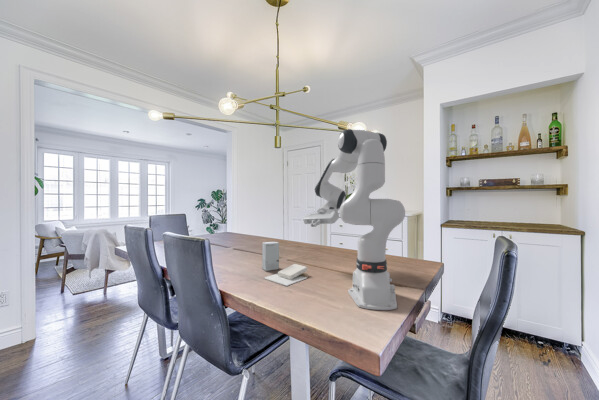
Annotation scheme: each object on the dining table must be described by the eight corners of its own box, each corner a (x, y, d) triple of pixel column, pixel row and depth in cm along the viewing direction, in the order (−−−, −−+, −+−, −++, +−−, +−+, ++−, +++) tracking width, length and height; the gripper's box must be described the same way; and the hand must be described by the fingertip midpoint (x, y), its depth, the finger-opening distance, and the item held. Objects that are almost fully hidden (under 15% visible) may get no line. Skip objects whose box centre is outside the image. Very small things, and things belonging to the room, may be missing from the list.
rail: (287, 271, 133) (287, 268, 133) (307, 277, 124) (307, 274, 124) (285, 272, 132) (285, 269, 132) (305, 277, 123) (305, 274, 123)
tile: (294, 263, 133) (277, 272, 125) (306, 266, 127) (290, 275, 119) (294, 267, 134) (278, 275, 125) (307, 270, 127) (290, 280, 119)
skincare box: (265, 271, 134) (265, 243, 134) (261, 268, 140) (261, 242, 139) (279, 269, 138) (279, 242, 138) (275, 266, 143) (275, 240, 143)
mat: (284, 272, 133) (284, 271, 133) (306, 278, 122) (306, 277, 122) (263, 278, 122) (263, 277, 122) (286, 286, 112) (286, 285, 112)
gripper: (309, 209, 149) (296, 220, 139) (338, 207, 136) (326, 220, 126) (312, 218, 151) (299, 230, 141) (342, 217, 138) (330, 230, 128)
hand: (312, 225), depth 133 cm, fingers closed
